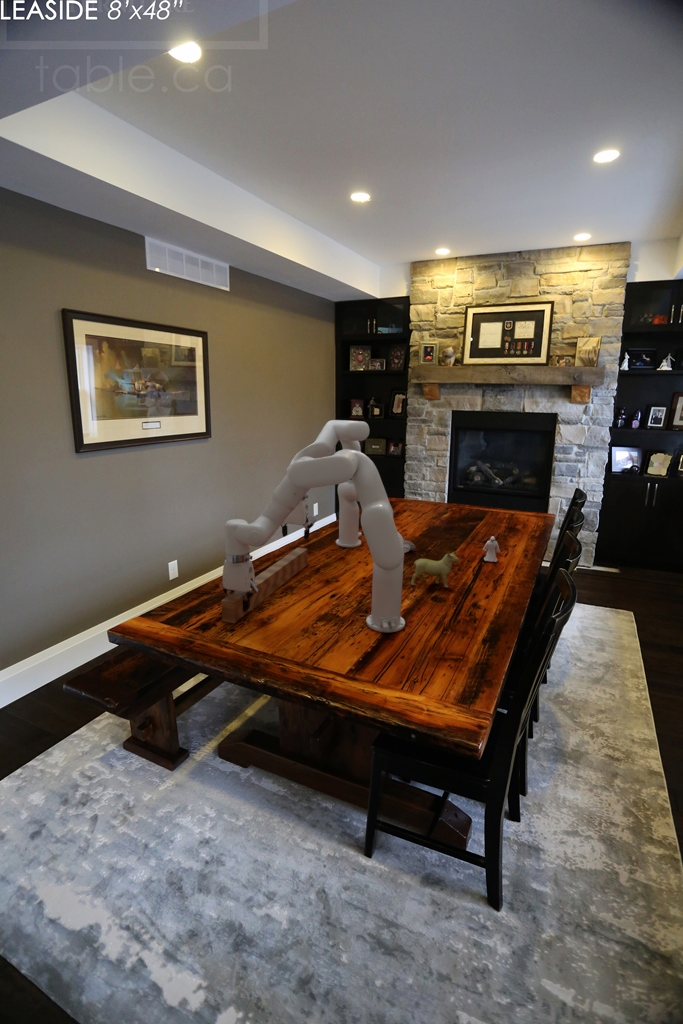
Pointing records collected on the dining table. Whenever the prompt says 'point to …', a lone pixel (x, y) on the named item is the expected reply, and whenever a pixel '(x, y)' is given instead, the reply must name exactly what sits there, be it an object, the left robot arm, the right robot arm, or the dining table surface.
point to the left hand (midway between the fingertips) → (295, 537)
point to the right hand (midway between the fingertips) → (239, 608)
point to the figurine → (491, 550)
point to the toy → (434, 568)
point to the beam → (265, 584)
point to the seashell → (408, 546)
